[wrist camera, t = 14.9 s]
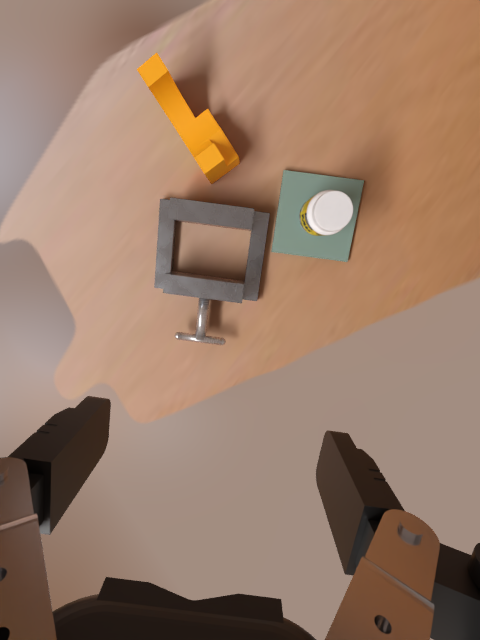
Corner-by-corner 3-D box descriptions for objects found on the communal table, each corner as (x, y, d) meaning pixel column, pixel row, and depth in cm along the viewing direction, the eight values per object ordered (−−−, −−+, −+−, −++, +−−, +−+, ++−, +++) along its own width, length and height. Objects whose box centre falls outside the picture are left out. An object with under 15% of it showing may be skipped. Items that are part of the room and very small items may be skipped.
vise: (269, 213, 42) (271, 210, 38) (250, 344, 46) (250, 353, 42) (162, 199, 42) (153, 195, 38) (153, 331, 46) (144, 339, 42)
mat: (362, 181, 40) (364, 180, 40) (346, 261, 43) (347, 261, 42) (283, 171, 40) (283, 169, 40) (271, 251, 43) (271, 251, 42)
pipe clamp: (239, 163, 40) (237, 149, 34) (211, 184, 41) (204, 173, 35) (183, 73, 38) (170, 40, 32) (155, 97, 39) (136, 69, 33)
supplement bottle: (290, 218, 41) (300, 211, 33) (317, 188, 40) (334, 175, 32) (317, 244, 42) (333, 244, 33) (344, 215, 41) (367, 209, 33)
